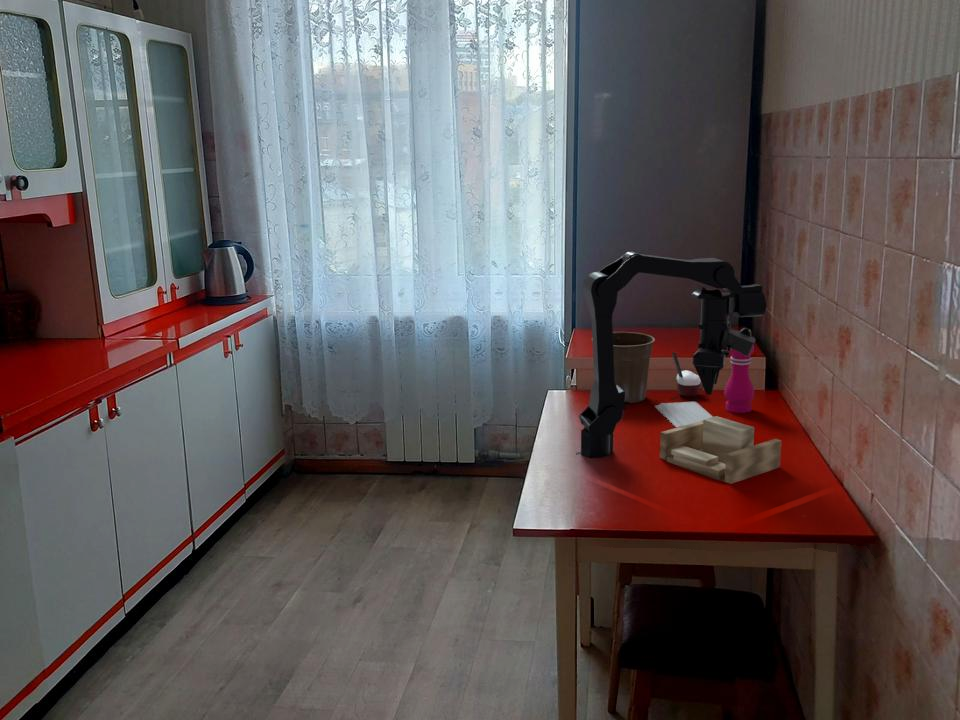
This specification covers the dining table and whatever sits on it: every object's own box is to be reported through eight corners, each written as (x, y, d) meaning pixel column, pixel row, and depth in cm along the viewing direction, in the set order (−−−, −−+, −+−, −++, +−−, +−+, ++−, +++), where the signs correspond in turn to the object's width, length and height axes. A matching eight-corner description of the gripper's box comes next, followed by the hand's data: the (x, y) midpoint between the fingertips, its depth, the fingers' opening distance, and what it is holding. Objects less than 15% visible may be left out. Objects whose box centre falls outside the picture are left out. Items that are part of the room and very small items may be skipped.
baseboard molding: (687, 449, 204) (740, 447, 206) (688, 437, 204) (740, 434, 205) (649, 409, 234) (695, 407, 236) (649, 398, 234) (695, 396, 235)
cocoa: (702, 393, 247) (705, 349, 244) (706, 399, 241) (709, 354, 238) (666, 392, 247) (669, 348, 245) (669, 398, 241) (672, 353, 239)
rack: (730, 487, 180) (732, 456, 179) (659, 461, 196) (660, 432, 194) (779, 470, 189) (781, 440, 187) (708, 446, 204) (709, 418, 202)
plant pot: (638, 410, 232) (639, 347, 228) (580, 401, 241) (581, 341, 237) (662, 394, 246) (664, 335, 242) (607, 386, 254) (607, 329, 250)
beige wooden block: (739, 468, 188) (741, 431, 186) (702, 455, 196) (703, 419, 194) (752, 464, 190) (754, 427, 189) (714, 451, 198) (716, 416, 197)
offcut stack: (718, 480, 182) (718, 466, 181) (666, 461, 193) (666, 448, 192) (732, 476, 184) (733, 461, 183) (680, 457, 195) (680, 444, 195)
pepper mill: (724, 404, 235) (727, 327, 230) (753, 406, 233) (758, 329, 228) (722, 412, 228) (726, 333, 224) (752, 414, 226) (757, 335, 221)
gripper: (750, 328, 185) (746, 403, 188) (757, 312, 202) (753, 381, 205) (693, 325, 188) (691, 399, 192) (705, 309, 205) (702, 377, 209)
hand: (711, 389), depth 200 cm, fingers open, 9 cm apart
